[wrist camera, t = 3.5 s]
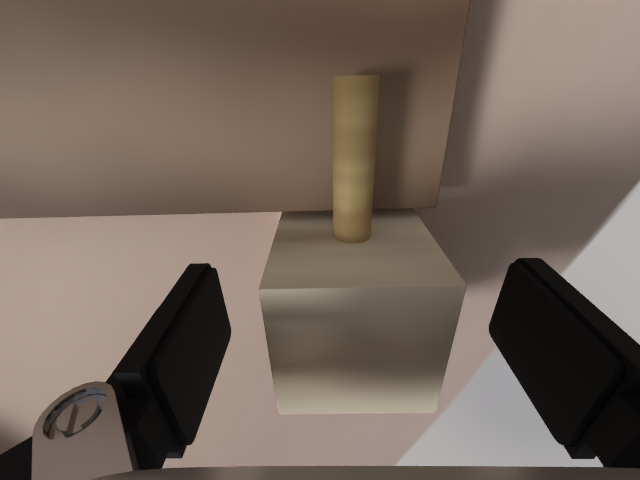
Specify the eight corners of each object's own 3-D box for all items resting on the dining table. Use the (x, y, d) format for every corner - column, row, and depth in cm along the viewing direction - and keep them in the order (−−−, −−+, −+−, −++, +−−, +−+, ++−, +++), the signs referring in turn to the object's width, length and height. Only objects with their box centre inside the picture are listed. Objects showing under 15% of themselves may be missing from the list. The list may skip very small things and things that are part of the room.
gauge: (394, 293, 15) (435, 413, 10) (294, 295, 15) (278, 414, 10) (419, 74, 10) (520, 68, 5) (274, 79, 10) (225, 79, 5)
